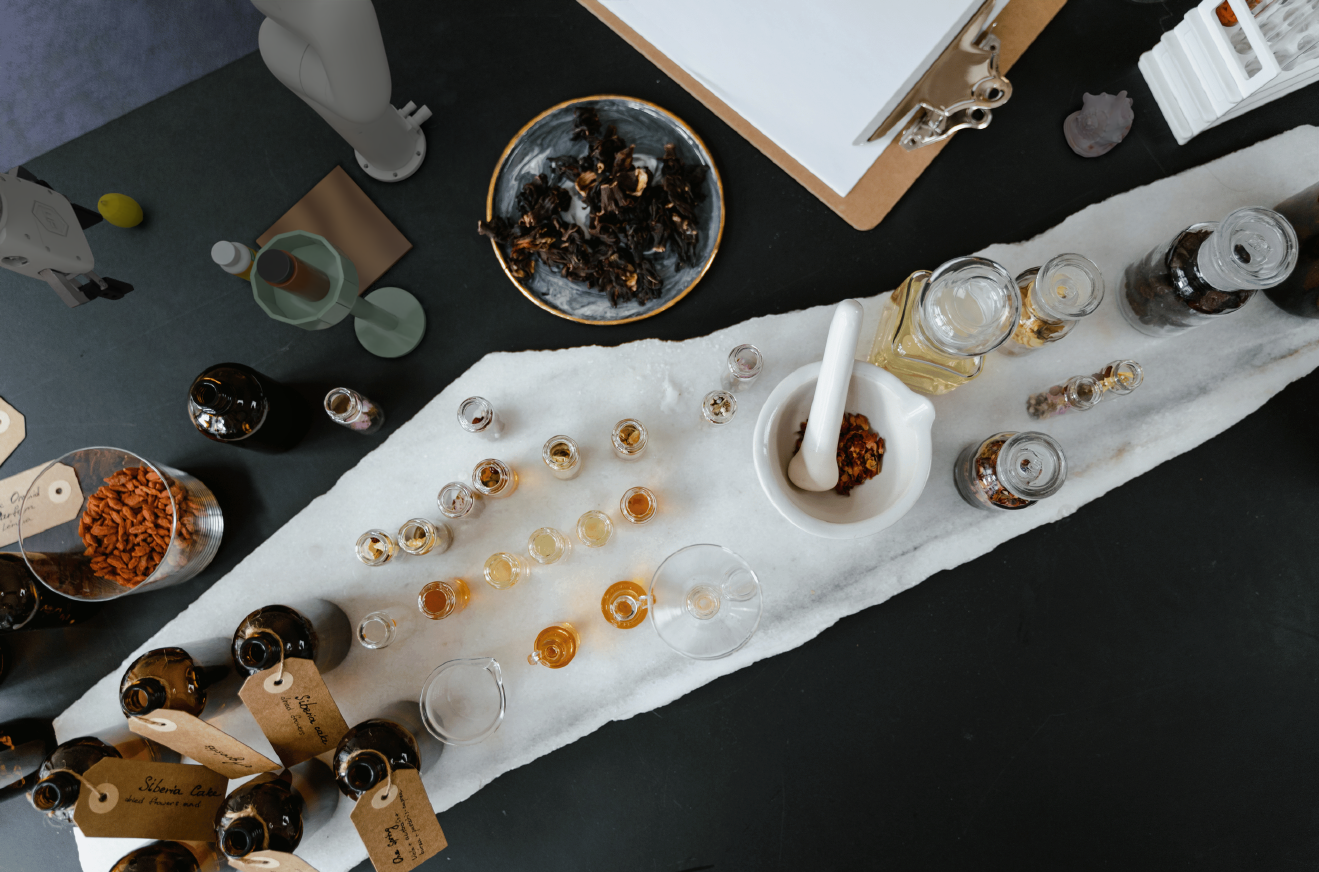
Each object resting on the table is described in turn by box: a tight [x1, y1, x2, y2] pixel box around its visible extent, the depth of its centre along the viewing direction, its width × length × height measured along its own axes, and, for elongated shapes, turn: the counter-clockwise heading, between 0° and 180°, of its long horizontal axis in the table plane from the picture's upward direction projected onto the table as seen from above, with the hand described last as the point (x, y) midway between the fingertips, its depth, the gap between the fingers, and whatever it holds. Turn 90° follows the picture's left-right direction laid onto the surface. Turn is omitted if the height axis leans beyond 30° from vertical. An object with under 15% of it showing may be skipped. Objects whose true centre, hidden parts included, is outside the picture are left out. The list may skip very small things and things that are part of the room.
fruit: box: [97, 192, 144, 229], centre depth 115 cm, size 6×6×8 cm
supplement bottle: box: [210, 240, 259, 283], centre depth 113 cm, size 5×5×10 cm
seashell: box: [1063, 90, 1135, 158], centre depth 110 cm, size 10×12×9 cm
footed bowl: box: [250, 230, 427, 359], centre depth 102 cm, size 12×12×29 cm
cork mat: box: [255, 164, 414, 297], centre depth 118 cm, size 20×20×1 cm
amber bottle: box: [256, 249, 330, 302], centre depth 87 cm, size 5×5×9 cm
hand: (108, 257), depth 82 cm, fingers open, 9 cm apart
